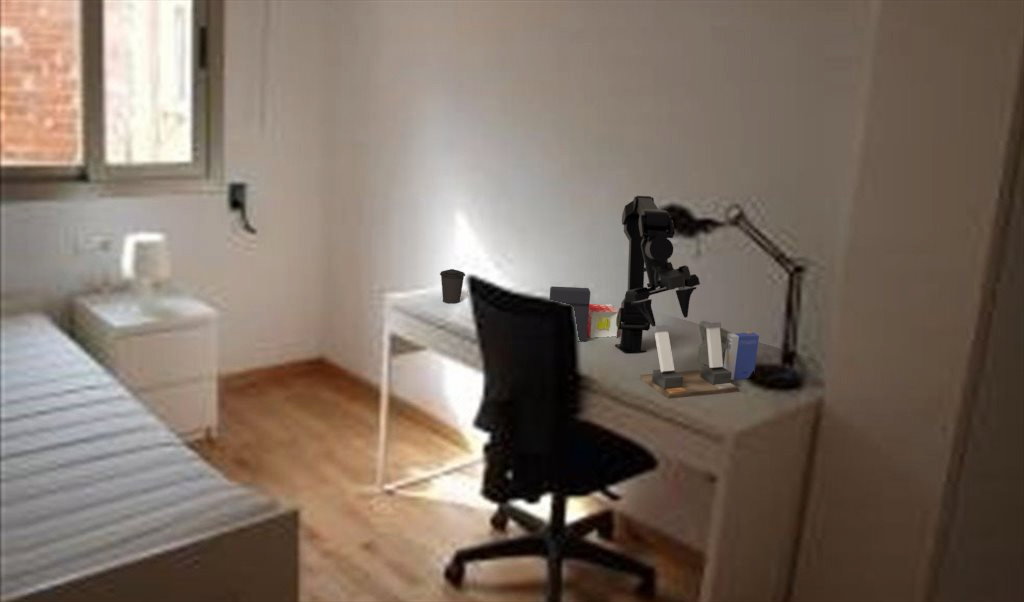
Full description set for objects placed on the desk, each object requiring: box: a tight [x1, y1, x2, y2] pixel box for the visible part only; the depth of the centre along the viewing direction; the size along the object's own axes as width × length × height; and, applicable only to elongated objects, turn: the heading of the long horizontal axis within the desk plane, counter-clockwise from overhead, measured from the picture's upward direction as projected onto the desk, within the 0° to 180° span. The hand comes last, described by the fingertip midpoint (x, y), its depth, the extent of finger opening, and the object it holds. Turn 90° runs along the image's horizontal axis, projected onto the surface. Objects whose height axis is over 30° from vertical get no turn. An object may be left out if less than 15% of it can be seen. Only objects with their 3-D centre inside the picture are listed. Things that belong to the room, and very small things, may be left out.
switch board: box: [639, 365, 740, 399], centre depth 238 cm, size 14×20×4 cm
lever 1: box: [651, 325, 675, 372], centre depth 235 cm, size 2×4×11 cm, turn 111°
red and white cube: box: [587, 303, 619, 339], centre depth 276 cm, size 8×8×8 cm
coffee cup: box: [439, 268, 466, 305], centre depth 300 cm, size 8×8×10 cm
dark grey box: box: [548, 285, 591, 343], centre depth 268 cm, size 11×4×15 cm, turn 92°
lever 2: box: [704, 321, 723, 368], centre depth 240 cm, size 2×4×11 cm, turn 111°
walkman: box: [724, 331, 760, 380], centre depth 245 cm, size 8×3×12 cm, turn 107°
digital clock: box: [697, 320, 733, 368], centre depth 254 cm, size 16×9×11 cm, turn 14°
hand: (670, 321), depth 238 cm, fingers open, 9 cm apart
